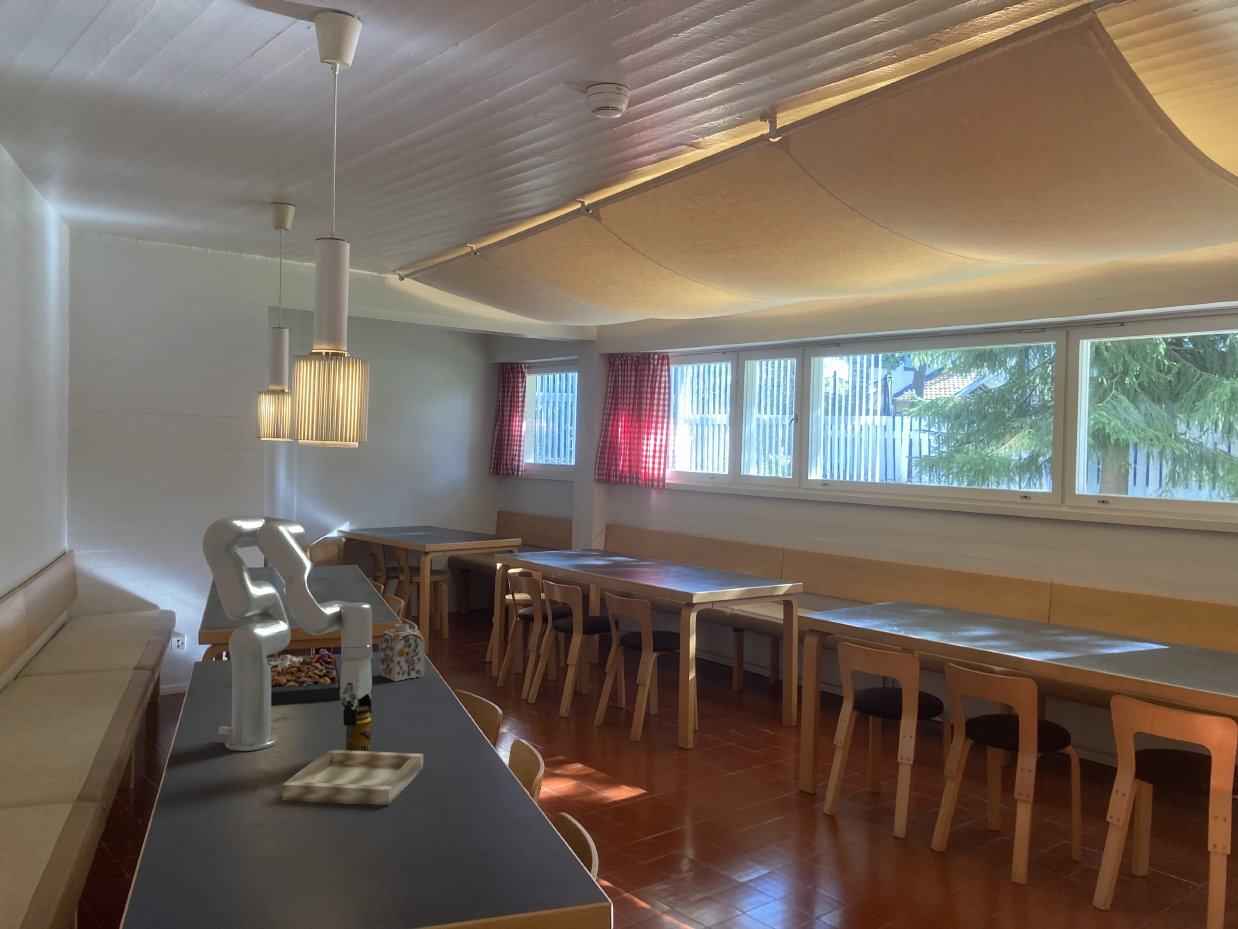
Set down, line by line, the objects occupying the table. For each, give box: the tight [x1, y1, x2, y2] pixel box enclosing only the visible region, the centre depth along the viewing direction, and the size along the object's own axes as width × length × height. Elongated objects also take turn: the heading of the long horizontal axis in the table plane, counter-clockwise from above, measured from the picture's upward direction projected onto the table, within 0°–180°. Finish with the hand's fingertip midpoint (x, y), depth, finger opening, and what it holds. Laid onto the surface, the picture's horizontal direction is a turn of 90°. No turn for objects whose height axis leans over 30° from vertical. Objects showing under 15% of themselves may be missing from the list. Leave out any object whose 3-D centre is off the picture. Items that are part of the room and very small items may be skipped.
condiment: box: [345, 705, 372, 752], centre depth 225 cm, size 7×8×12 cm
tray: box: [281, 749, 424, 806], centre depth 205 cm, size 24×24×4 cm
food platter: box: [267, 645, 342, 706], centre depth 294 cm, size 45×25×10 cm, turn 20°
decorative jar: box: [378, 623, 425, 682], centre depth 308 cm, size 12×12×18 cm
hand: (357, 719), depth 225 cm, fingers open, 9 cm apart
